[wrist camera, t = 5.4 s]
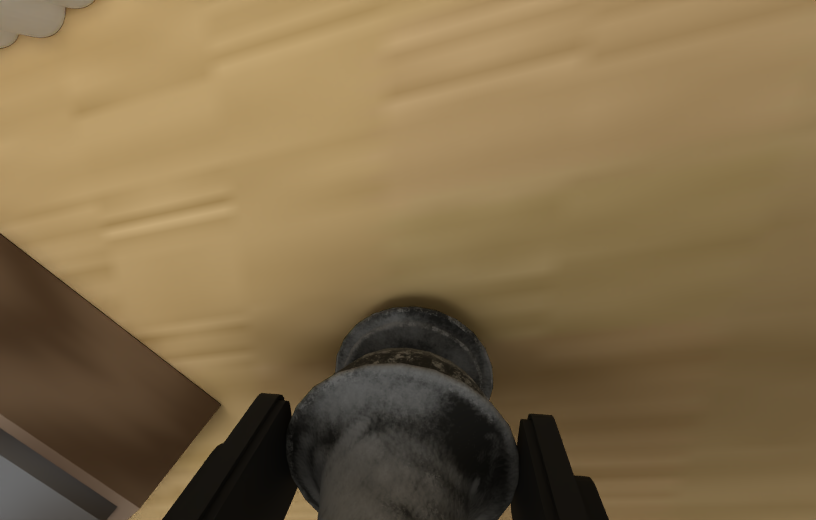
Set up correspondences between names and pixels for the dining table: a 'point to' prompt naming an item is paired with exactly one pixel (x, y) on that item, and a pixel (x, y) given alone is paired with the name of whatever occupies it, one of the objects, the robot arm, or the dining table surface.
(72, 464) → the walnut base
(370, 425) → the black chess piece
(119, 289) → the dining table surface
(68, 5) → the mooncake
